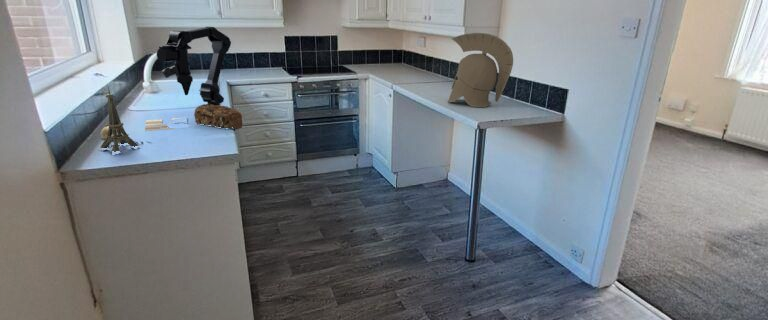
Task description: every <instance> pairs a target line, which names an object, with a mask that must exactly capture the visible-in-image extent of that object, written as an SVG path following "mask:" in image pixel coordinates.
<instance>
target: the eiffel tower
mask: <svg viewBox="0 0 768 320" xmlns="http://www.w3.org/2000/svg"><path fill="white" fill-rule="evenodd" d="M107 85H108V82H107ZM107 89H108V90H107V91H108V93H107V94H105V98H106V99H107V105H108V106H107V107H108V123H106V124H107V126H109V132H108V135H106V136H107V138H106V139H104V141H103V143H102V144H101V145H100V148H107V147H108V148H109V147H110V146H111V143H113V146H112V149H111V152H112V151H114V152H116V151H120V152H121V150H120V145H118V144H120V143H121V144H124V143H128V144H129V145H128V146H130V147H131V146H134V147H135V146H139V144H138V143H137V142H136V141H135V140H133V139H132V138H131V137H130V136H129V134H128V133H127V132H126V130H125V128H124V125H125V124H124V122H121V119H120V115H119V113H118V109H117V107H116V104H115V100H114V98H115V95H114V93H111V91H110V87H109V86H107ZM116 129H117V131H116ZM112 130H113V134H112ZM121 132H122V133H121ZM100 148H99V149H100Z"/></svg>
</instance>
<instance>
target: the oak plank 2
mask: <svg viewBox="0 0 768 320" xmlns="http://www.w3.org/2000/svg"><path fill="white" fill-rule="evenodd" d="M179 118H180V119H182V118H187V119H188V117H187V116H186V117H173V118H171V122H172V121H173V120H175V119H179Z"/></svg>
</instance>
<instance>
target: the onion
mask: <svg viewBox="0 0 768 320" xmlns="http://www.w3.org/2000/svg"><path fill="white" fill-rule="evenodd" d="M107 124H108V123H104V127H103V128H102V129H101V131H100V137H101V139H102V140H106V138H107V136H106V135H108V132H109V126H107ZM116 131H117V129H116ZM121 133H122V132H121ZM112 134H113V130H112Z"/></svg>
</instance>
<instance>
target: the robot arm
mask: <svg viewBox="0 0 768 320" xmlns="http://www.w3.org/2000/svg"><path fill="white" fill-rule="evenodd" d="M202 38H207V39H208V40H209V42H211V48H212V51H213V53H212V58H211V61H210V66H209V69H208V75H207V77H206V78H207V79H206V81H205V82H201V84H200V89H199V96H200V97H201V99H202V101H203V103H206V104H208V105H210V104H213V105H221V104H222V103H224V100H225V98H224V96H222V94H221V93H220V86H219V79H220V74H221V71H222V66H223V62H224V57H225V55H226V54H227V53H228V52H229V51H230V48H231V43H232V41H231V39H230V37H229V36H227V35H226V34H224V33H223V32H221V31H219V30H218V29H217V28H216V27H214V26H205V27H200V28H195V29H191V30H171V31H170V32H169V35H168V37H167V40H166V42H165V44H164V45H159V46H158V49H157V51H156V58H157V60H158V61H159V62H161V63H169V62H174V65H171V66H169V67H168V66H166V67H164V69H162V70H161V72H162V74H163V76H164V78H166V79H168V78H170V77H172V76H174V75H175V77H176V82H177V83H179V84H180V85H181V87H182V89H183V93H184V95H185V96H188V95H189V92H190V90H191V85H192V82H194V81H193V80H194V79H193V75H191V74H192V73H191V69H190V68H191V67H190V60H189V59H190V58H189V51H188V50H192V47H191V46H190V45H189V44H190V43H192V41H194V40H198V39H202Z"/></svg>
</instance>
